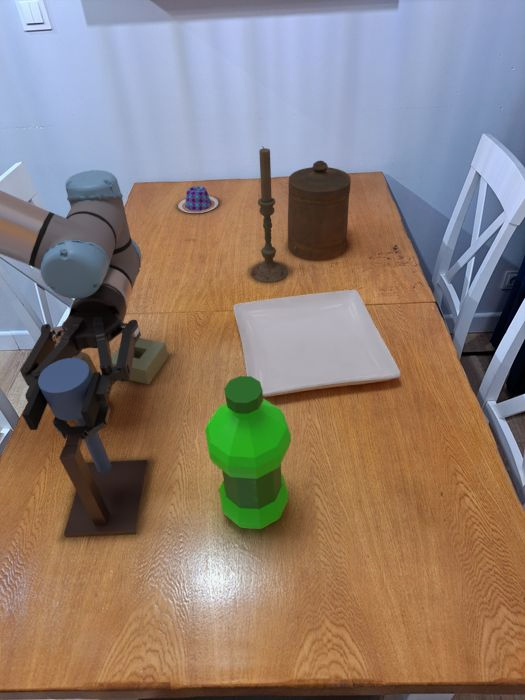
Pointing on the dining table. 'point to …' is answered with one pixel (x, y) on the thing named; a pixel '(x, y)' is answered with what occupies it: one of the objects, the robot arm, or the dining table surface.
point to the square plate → (312, 343)
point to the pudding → (197, 200)
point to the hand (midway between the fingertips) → (58, 420)
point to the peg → (72, 400)
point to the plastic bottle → (249, 454)
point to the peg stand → (100, 485)
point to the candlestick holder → (267, 227)
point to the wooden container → (318, 212)
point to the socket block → (145, 360)
